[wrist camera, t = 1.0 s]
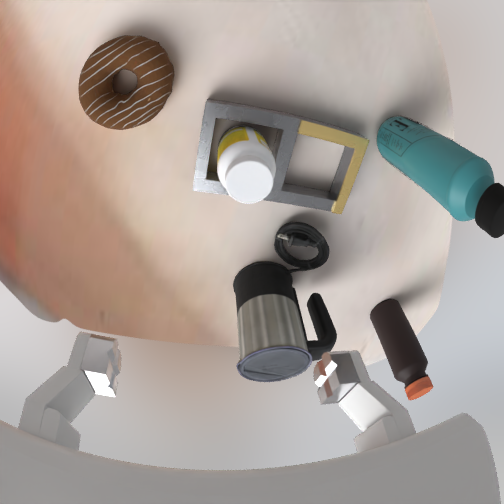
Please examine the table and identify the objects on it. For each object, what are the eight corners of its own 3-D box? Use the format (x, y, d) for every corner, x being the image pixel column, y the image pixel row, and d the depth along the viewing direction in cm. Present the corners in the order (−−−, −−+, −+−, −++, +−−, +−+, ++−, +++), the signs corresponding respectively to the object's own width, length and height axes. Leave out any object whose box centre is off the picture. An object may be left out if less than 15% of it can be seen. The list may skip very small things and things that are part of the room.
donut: (91, 41, 19) (74, 40, 16) (182, 35, 21) (176, 31, 18) (86, 127, 26) (71, 136, 23) (171, 126, 28) (164, 135, 24)
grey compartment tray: (207, 99, 26) (205, 102, 24) (359, 133, 30) (369, 140, 27) (194, 181, 32) (192, 191, 30) (333, 203, 35) (341, 214, 33)
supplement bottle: (212, 162, 31) (208, 202, 23) (225, 119, 28) (226, 143, 20) (257, 174, 32) (268, 217, 25) (272, 132, 29) (292, 162, 21)
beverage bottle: (383, 167, 33) (482, 267, 17) (359, 128, 29) (476, 216, 14) (417, 141, 30) (527, 224, 15) (396, 101, 27) (526, 167, 11)
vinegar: (372, 324, 55) (404, 405, 39) (366, 308, 51) (403, 398, 35) (399, 310, 53) (436, 389, 37) (396, 293, 49) (439, 379, 33)
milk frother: (237, 306, 46) (243, 387, 35) (217, 229, 36) (217, 319, 25) (320, 292, 46) (345, 368, 35) (323, 212, 36) (366, 293, 25)
